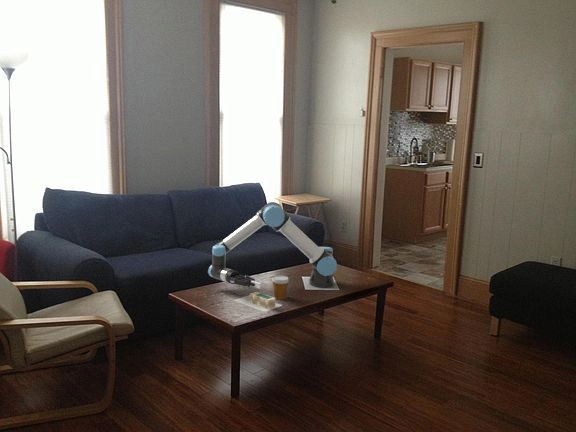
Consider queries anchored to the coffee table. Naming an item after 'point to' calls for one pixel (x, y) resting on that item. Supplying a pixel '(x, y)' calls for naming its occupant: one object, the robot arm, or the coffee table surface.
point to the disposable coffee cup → (280, 287)
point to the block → (262, 300)
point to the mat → (246, 301)
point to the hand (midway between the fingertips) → (260, 285)
